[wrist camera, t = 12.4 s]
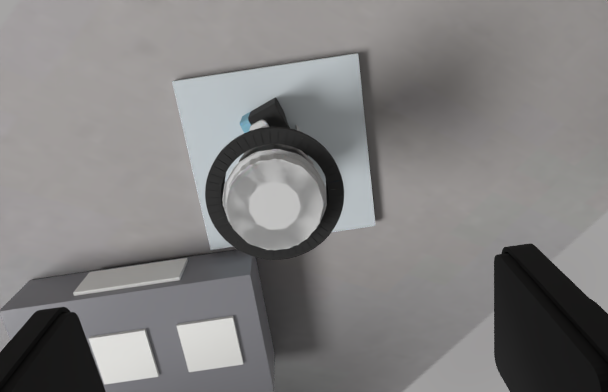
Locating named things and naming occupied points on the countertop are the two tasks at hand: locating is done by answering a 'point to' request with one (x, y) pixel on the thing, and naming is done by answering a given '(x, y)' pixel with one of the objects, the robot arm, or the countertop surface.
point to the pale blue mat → (298, 110)
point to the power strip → (165, 323)
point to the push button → (274, 188)
